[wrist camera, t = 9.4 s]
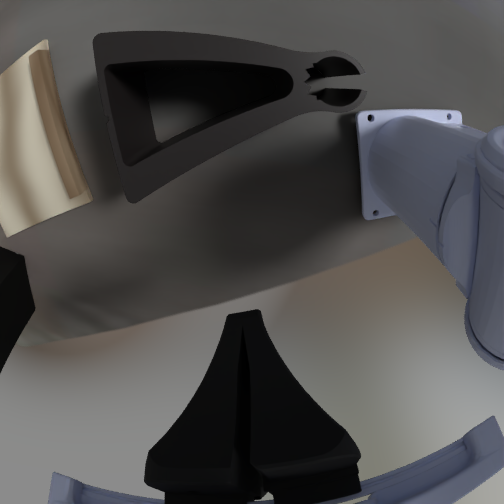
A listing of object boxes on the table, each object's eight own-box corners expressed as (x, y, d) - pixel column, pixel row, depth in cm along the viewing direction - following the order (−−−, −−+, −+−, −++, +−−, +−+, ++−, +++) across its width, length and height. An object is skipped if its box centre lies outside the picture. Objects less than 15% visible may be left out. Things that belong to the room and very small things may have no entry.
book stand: (47, 39, 11) (36, 38, 10) (93, 199, 19) (84, 207, 17) (-33, 111, 12) (-43, 115, 11) (9, 235, 20) (1, 242, 18)
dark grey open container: (158, 171, 18) (333, 147, 18) (127, 205, 13) (369, 172, 12) (134, 49, 13) (320, 22, 13) (92, 36, 8) (354, -4, 8)
